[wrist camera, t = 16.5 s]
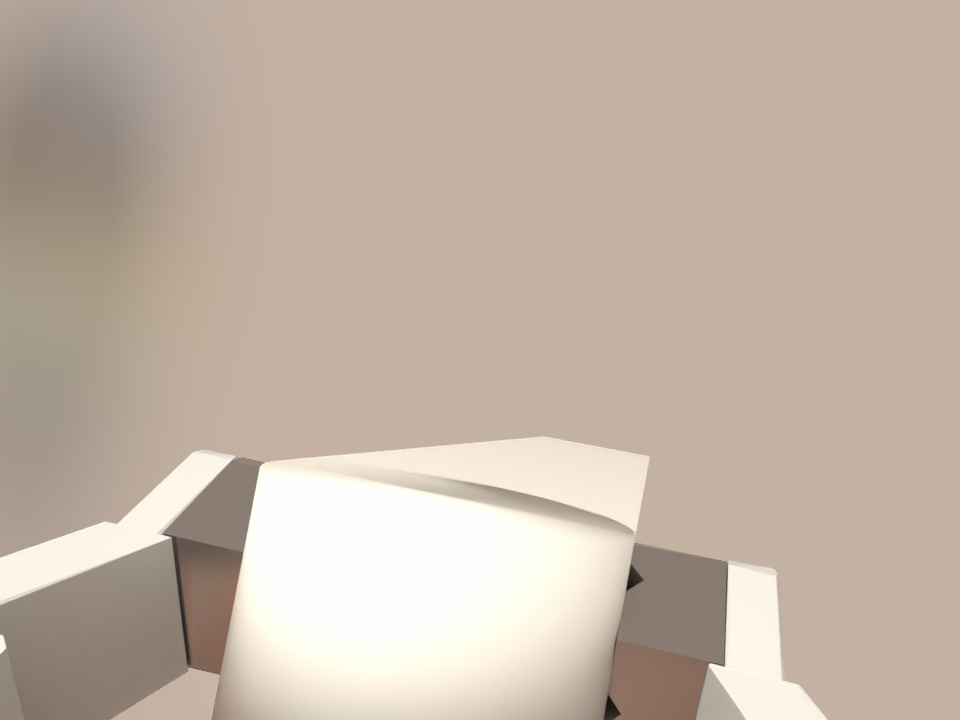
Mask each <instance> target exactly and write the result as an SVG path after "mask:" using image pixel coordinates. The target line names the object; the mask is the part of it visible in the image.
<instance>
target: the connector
mask: <svg viewBox="0 0 960 720" xmlns="http://www.w3.org/2000/svg"><path fill="white" fill-rule="evenodd" d="M648 463H649V456H645V455H640V454H634V453H629V452H624V451H618V450H613V449H608V448H602V447H597V446H592V445H587V444H581V443H576V442H571V441H566V440H560V439H555V438H550V437H545V436H544V437H533V438H522V439H511V440H500V441H489V442H478V443H467V444H457V445H445V446H435V447H423V448H412V449H401V450H391V451H379V452H369V453H357V454H346V455H335V456H324V457H313V458H302V459H291V460H281V461H272V462H267V463H264V464H262V465H261V466H260V469H259V474H258V479H257V485H256V490H255V495H254V500H253V506H252V511H251V516H250V521H249V527H248V532H247V537H246V542H245V547H244V553H243V558H242V563H241V568H240V574H239V579H238V584H237V589H236V595H235V600H234V605H233V610H232V616H231V621H230V626H229V631H228V636H227V642H226V647H225V652H224V657H223V663H222V668H221V673H220V678H219V684H218V689H217V694H216V699H215V705H214V710H213V715H212V720H603V719H604V714H605V708H606V702H607V697H608V691H609V685H610V677H611V669H612V663H613V658H614V652H615V647H616V641H617V635H618V630H619V624H620V620H621V616H622V610H623V604H624V599H625V593H626V587H627V582H628V576H629V570H630V564H631V559H632V553H633V547H634V543H635V538H636V532H637V526H638V521H639V515H640V509H641V503H642V498H643V492H644V486H645V480H646V475H647V469H648Z"/></svg>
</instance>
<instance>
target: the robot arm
mask: <svg viewBox="0 0 960 720" xmlns="http://www.w3.org/2000/svg"><path fill="white" fill-rule="evenodd" d="M262 464H264V462H260V461H255V460H251V459H247V458H243V457H242V458H239V457H237V456H233V455H228V454H224V453H219V452H214V451H210V450H205V449H204V450H199V451H195V452H193V453H192V454H191V455H190V456H189V457H188V458H186V459H185V460H184V461H183V462H182V463H181V464H180V465H179V466H178V467H177V468H176V469H175V470H174V471H173V472H172V473H171V474H170V475H169V476H168V477H166V478H165V479H164V480H163V481H162V482H161V483H160V484H159V485H158V486H157V487H156V488H155V489H154V490H153V491H152V492H151V493H149V494H148V495H147V496H146V497H145V498H144V499H143V500H142V501H141V502H140V503H139V504H138V505H137V506H136V507H135V508H134V509H133V510H132V511H130V512H129V513H128V514H127V515H126V516H125V517H124V518H123V519H122V520H121V521H120V522H119V523H118V524H113V523H109V522H103V523H100V524H97V525H94V526H91V527H89V528H85V529H83V530H80V531H77V532H74V533H71V534H68V535H65V536H62V537H59V538H56V539H54V540H51V541H48V542H45V543H42V544H39V545H36V546H33V547H30V548H27V549H24V550H22V551H19V552H16V553H13V554H10V555H7V556H4V557H1V558H0V720H110V719H112V718H113V717H115V716H116V715H118V714H119V713H121V712H123V711H125V710H126V709H128V708H129V707H131V706H132V705H134V704H135V703H137V702H139V701H141V700H142V699H144V698H146V697H147V696H149V695H150V694H152V693H154V692H155V691H157V690H159V689H160V688H162V687H163V686H165V685H167V684H168V683H170V682H171V681H173V680H175V679H176V678H178V677H180V676H181V675H183V674H185V673H186V672H187V671H188V667H189V668H194V669H198V670H202V671H206V672H211V673H215V674H219V675H220V673H221V668H222V663H223V657H224V652H225V647H226V642H227V636H228V631H229V626H230V621H231V616H232V610H233V605H234V600H235V595H236V589H237V584H238V579H239V574H240V568H241V563H242V558H243V553H244V547H245V542H246V537H247V532H248V527H249V521H250V516H251V511H252V506H253V500H254V495H255V490H256V485H257V479H258V474H259V469H260V466H261V465H262ZM782 648H783V647H782V631H781V614H780V598H779V579H778V574H777V573H776V571H775V569H773V568H767V567H762V566H756V565H751V564H746V563H740V562H734V561H729V560H727V561H726V562H725V561H721V560H716V559H711V558H706V557H701V556H696V555H692V554H687V553H682V552H677V551H672V550H667V549H663V548H658V547H653V546H648V545H643V544H638V543H634V547H633V553H632V559H631V564H630V570H629V576H628V582H627V587H626V593H625V599H624V604H623V610H622V616H621V620H620V624H619V630H618V635H617V641H616V647H615V652H614V658H613V663H612V669H611V677H610V685H609V691H608V697H607V702H606V708H605V714H604V719H603V720H828V719H827V718H826V717H825V716H824V714H823V713H822V712H821V711H820V710H819V708H818V707H817V706H816V705H815V703H814V702H813V701H812V700H811V698H810V697H809V696H808V695H807V694H806V692H805V691H804V690H803V689H802V687H801V686H800V685H797V684H794V683H789V682H785V681H784V665H783V649H782Z"/></svg>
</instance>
